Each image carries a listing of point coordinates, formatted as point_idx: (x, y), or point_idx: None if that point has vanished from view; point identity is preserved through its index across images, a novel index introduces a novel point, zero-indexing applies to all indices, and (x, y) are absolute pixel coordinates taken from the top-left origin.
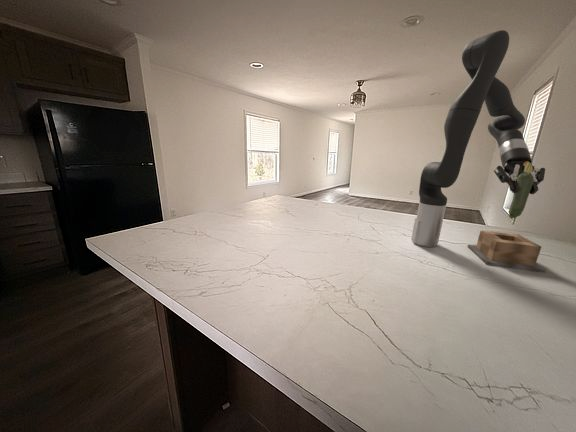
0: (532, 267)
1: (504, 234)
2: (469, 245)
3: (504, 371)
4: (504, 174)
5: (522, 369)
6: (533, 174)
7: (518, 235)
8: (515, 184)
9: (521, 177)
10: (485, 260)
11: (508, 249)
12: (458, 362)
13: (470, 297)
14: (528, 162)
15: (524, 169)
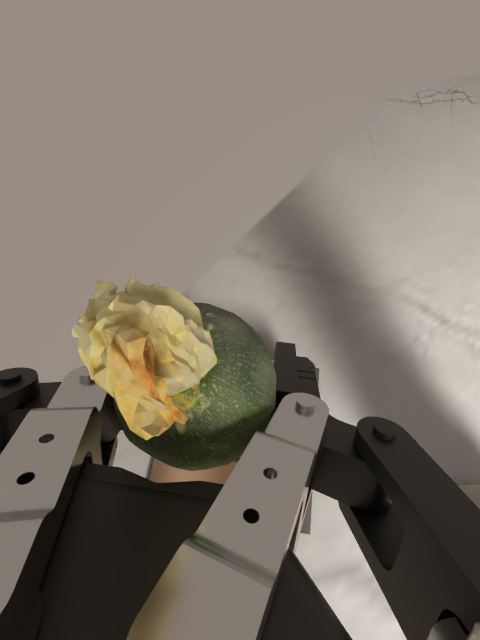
0: None
1: (220, 472)
2: (308, 522)
3: (430, 113)
4: (427, 475)
5: (410, 118)
6: (46, 409)
7: (163, 472)
8: (296, 364)
9: (260, 344)
10: (318, 378)
11: None
12: (472, 115)
13: (419, 219)
14: (119, 309)
15: (211, 354)
